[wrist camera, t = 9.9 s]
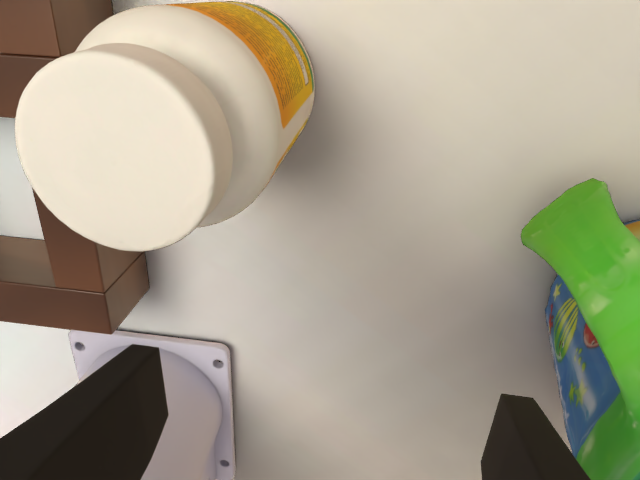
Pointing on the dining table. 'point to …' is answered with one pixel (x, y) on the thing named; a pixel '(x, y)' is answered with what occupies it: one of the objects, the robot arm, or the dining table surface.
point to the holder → (60, 241)
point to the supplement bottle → (164, 120)
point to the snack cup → (594, 325)
